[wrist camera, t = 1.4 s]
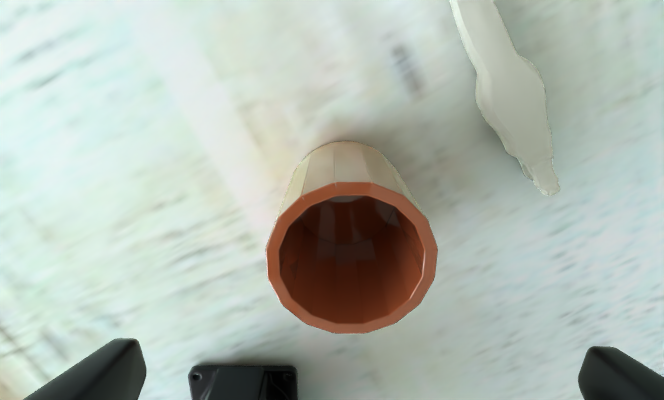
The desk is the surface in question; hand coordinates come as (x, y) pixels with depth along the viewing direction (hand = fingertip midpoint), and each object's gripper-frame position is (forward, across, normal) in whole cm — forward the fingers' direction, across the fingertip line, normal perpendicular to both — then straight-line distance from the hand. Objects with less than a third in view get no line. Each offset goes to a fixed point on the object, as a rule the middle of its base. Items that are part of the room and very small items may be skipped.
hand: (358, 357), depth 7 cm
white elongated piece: (+13, -6, -5) cm, 15 cm away
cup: (+12, 0, +2) cm, 12 cm away
